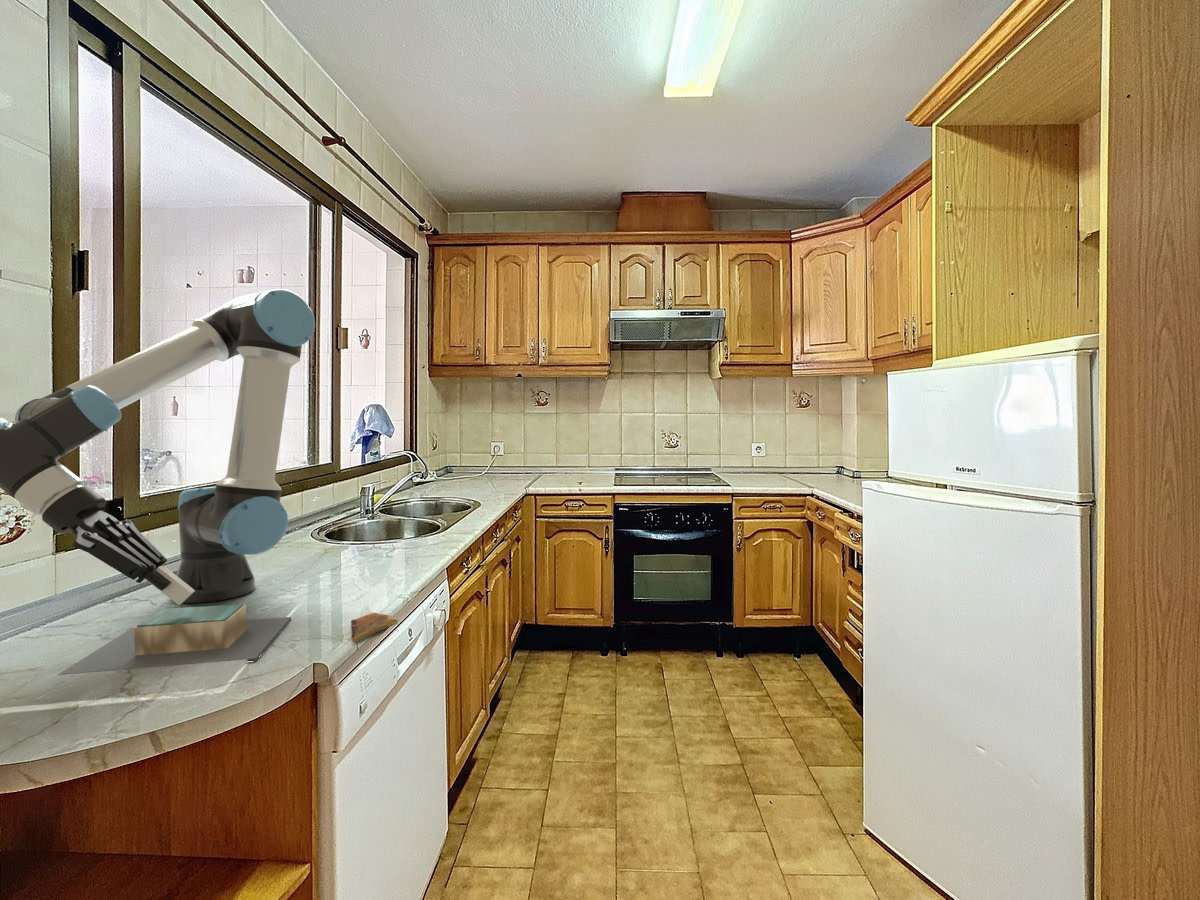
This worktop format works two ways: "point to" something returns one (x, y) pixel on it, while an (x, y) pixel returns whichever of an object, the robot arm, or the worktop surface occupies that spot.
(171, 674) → the worktop surface
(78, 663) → the rubber mat
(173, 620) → the birch block
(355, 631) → the shard
